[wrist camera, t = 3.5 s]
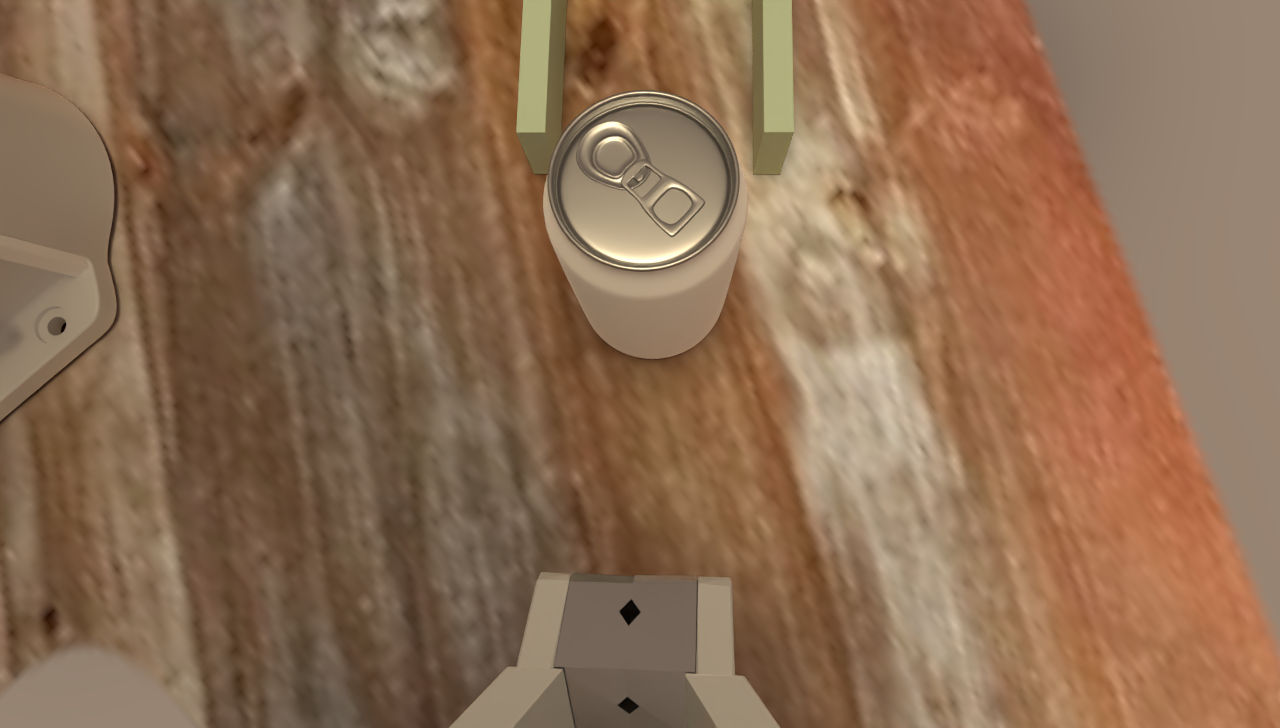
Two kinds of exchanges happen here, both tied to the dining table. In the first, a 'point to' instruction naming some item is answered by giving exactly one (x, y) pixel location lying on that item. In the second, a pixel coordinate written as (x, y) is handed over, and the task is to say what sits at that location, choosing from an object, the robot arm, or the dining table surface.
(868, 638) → the dining table surface
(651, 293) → the can
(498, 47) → the dining table surface
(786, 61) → the olive frame
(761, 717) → the robot arm
